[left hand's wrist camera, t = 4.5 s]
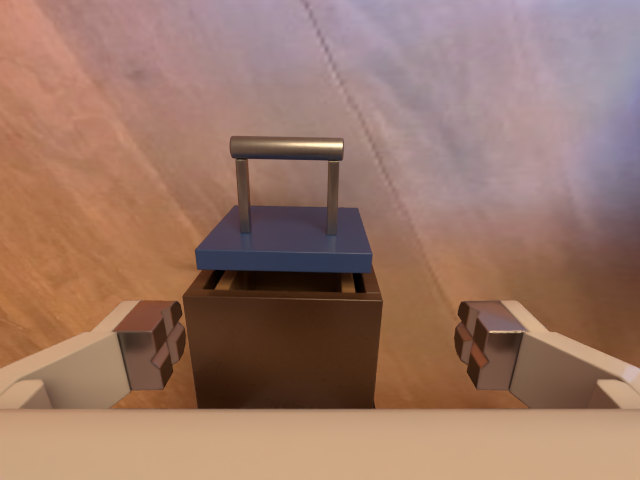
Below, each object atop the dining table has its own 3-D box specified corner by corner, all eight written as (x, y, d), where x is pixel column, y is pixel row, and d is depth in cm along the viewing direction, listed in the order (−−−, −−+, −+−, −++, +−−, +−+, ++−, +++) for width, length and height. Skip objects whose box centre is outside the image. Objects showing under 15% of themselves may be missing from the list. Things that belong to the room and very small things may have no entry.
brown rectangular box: (231, 229, 29) (181, 296, 19) (362, 232, 29) (383, 300, 19) (242, 376, 34) (208, 489, 24) (353, 379, 34) (365, 493, 24)
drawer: (229, 128, 25) (181, 140, 17) (362, 131, 25) (381, 144, 17) (245, 353, 32) (217, 441, 24) (349, 356, 32) (357, 444, 24)
